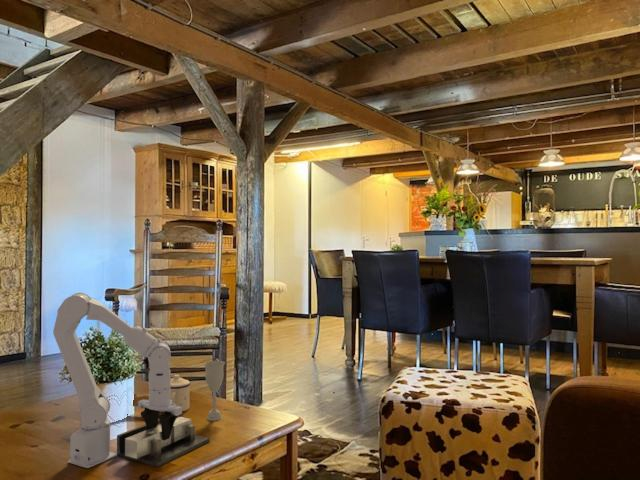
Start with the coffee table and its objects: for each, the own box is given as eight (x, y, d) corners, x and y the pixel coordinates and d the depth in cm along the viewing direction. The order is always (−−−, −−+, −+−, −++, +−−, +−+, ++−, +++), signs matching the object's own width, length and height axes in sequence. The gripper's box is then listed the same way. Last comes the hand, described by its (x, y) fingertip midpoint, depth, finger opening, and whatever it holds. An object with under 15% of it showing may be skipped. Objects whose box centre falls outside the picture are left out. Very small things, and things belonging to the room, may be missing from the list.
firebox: (157, 467, 135) (157, 445, 135) (116, 455, 143) (117, 435, 143) (209, 441, 153) (209, 422, 153) (171, 432, 160) (171, 414, 160)
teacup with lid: (165, 405, 188) (166, 372, 188) (192, 404, 188) (192, 371, 188) (158, 416, 176) (158, 381, 176) (186, 415, 176) (186, 380, 176)
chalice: (222, 421, 170) (222, 365, 170) (201, 421, 170) (201, 365, 170) (226, 414, 177) (227, 360, 178) (206, 414, 177) (206, 360, 178)
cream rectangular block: (137, 458, 136) (137, 441, 136) (124, 455, 138) (125, 438, 138) (191, 434, 153) (191, 418, 153) (179, 431, 155) (179, 416, 155)
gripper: (189, 387, 145) (189, 437, 145) (151, 381, 152) (151, 428, 152) (171, 394, 139) (171, 446, 139) (132, 387, 146) (132, 436, 146)
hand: (159, 437), depth 145 cm, fingers closed on cream rectangular block, 4 cm apart
